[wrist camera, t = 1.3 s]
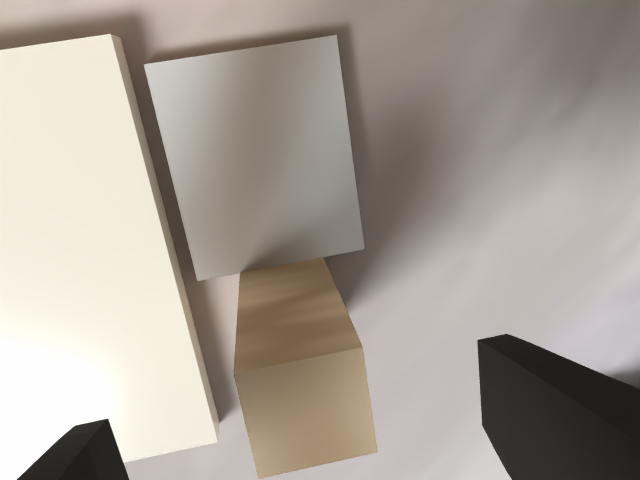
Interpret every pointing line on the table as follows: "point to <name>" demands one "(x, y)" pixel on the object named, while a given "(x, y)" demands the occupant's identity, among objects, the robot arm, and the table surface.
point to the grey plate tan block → (274, 235)
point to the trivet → (88, 265)
